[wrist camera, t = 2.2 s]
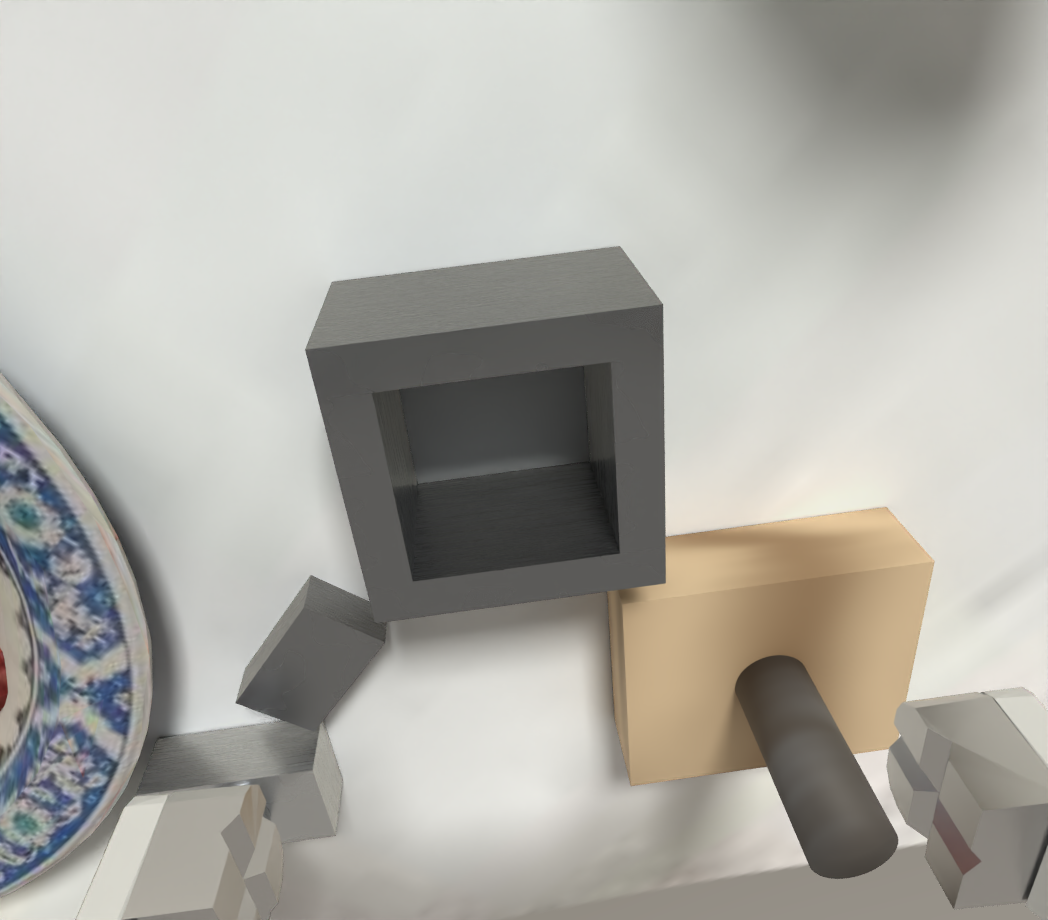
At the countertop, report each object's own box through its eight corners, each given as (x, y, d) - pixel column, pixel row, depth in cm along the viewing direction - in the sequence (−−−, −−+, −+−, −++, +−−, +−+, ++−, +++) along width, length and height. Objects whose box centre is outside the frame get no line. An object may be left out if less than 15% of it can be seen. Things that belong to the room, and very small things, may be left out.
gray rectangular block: (321, 690, 24) (314, 731, 23) (247, 661, 23) (235, 702, 22) (388, 603, 23) (385, 642, 21) (312, 568, 22) (303, 607, 20)
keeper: (614, 719, 25) (673, 963, 19) (604, 545, 22) (672, 771, 15) (857, 685, 26) (998, 914, 19) (886, 507, 22) (1070, 714, 16)
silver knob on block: (188, 801, 26) (137, 963, 21) (157, 738, 24) (95, 899, 20) (342, 779, 26) (322, 936, 21) (321, 715, 24) (295, 870, 20)
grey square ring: (386, 520, 21) (375, 623, 17) (331, 282, 18) (305, 349, 14) (629, 488, 21) (665, 583, 18) (619, 246, 18) (663, 304, 14)
